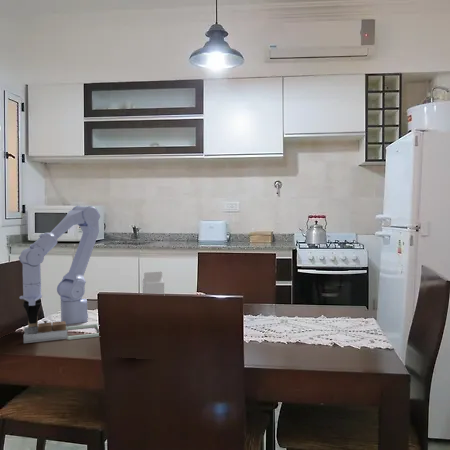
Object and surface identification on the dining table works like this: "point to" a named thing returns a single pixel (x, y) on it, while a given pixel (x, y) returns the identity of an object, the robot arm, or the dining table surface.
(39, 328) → the walnut block
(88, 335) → the tray
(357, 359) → the dining table surface
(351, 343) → the dining table surface
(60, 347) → the dining table surface
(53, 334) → the silver metal tray
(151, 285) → the milk
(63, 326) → the walnut block
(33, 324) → the tan block
